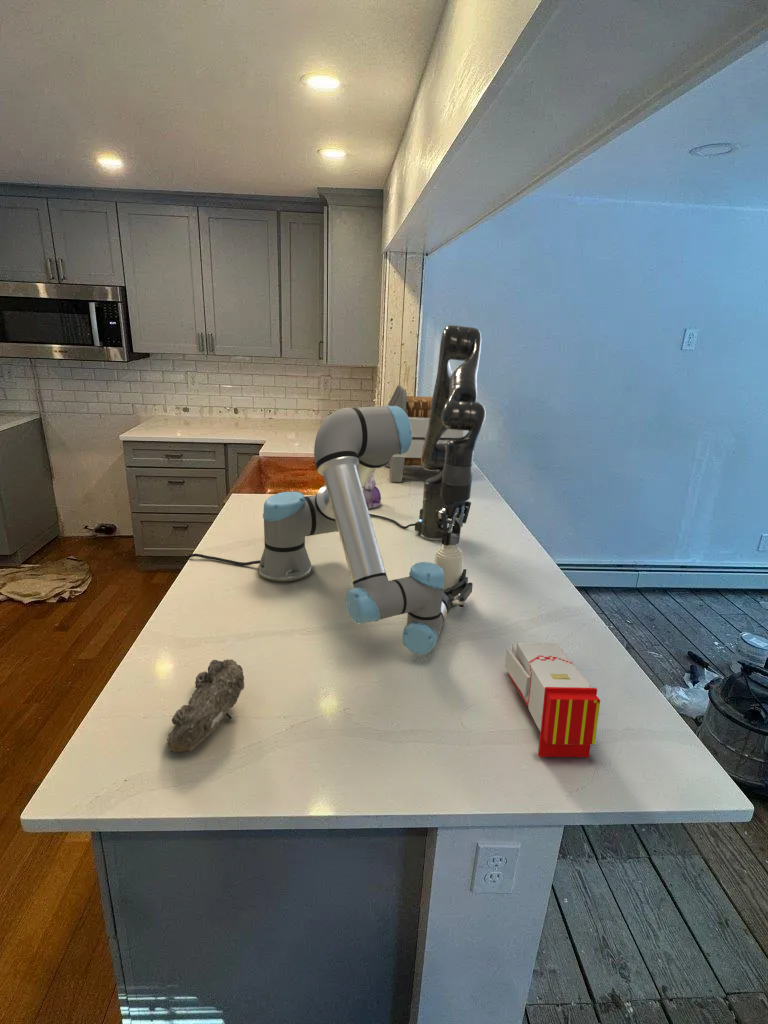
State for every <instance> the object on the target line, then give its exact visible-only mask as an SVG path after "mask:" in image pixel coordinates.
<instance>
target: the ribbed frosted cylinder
mask: <svg viewBox="0 0 768 1024" xmlns="http://www.w3.org/2000/svg"><path fill="white" fill-rule="evenodd" d="M463 561H464V554H463V551H462V550H461V549H460V547H459V546H458V544H457V545H448V546H446V545H443V544H441V545H440V546H439V547H438V548H436V550H435V551H434V561H433V563H434V564H436V565H438V566H439V567H441V568H442V569H443V572H444V589H443V590H445V589H447V588H448V587H449V588H451V587H452V586H454V585H456V584H457V583H459V581H460V577H461V574H462V572H463V570H462V569H463ZM458 595H460V594H458ZM458 595H457V596H455V597H454V599H456V598H457V597H458ZM455 605H457V604H453V605H452V606H451V607H453V606H455Z"/></svg>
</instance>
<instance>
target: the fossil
mask: <svg viewBox="0 0 768 1024" xmlns="http://www.w3.org/2000/svg"><path fill="white" fill-rule="evenodd" d="M243 670H244V669H243V667H242V665H240V664H237V662H236V661H235V660H234V659H232V658H231V659H227V658H226V659H224V660H223V661H222V660H217V659H212V660H211V661H210V663H209V665H208V666H207V671H201V672H199V673H198V674H197V675H196V676H195V680H194V684H195V685H194V687H195V689H194V690H193V693H192V694H191V697H190V698H189V700H188V704H184V705H182V706H181V707H180V709H177V710H176V711H175V713H174V715H173V716H172V718H171V723H172V724H173V727H172V730H171V731H170V732H168V734H167V738H166V741H167V742H166V745H167V749H168V750H169V751H173V752H174V753H176V754H178V753H182V752H188V751H189V752H192V751H193V750H195V748H196V747H197V746H199V744H200V743H201V742H203V741H204V740H205V739H206V738H207V737H208V736H209V735H210V734H211V733H212V732H214V730H215V729H217V727H218V726H219V724H220V722H221V721H222V720H223V719H224V718H225V716H226V717H227V719H229V720H233V717H232V715H230V714H229V710H230V709H231V708H234V706H235V704H236V703H237V702H238V699H239V697H240V695H241V693H242V691H243V690H245V689H244V688H245V675H244V671H243Z"/></svg>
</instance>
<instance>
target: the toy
mask: <svg viewBox="0 0 768 1024" xmlns="http://www.w3.org/2000/svg"><path fill="white" fill-rule="evenodd" d="M504 668H505V670H506V671H507V675H508V676H509V678H510V680H511V682H512V683H513V685H514V687H515V688H516V690H517V691H518V693H519V695H520V697H521V698H522V700H523V702H524V703H525V705H526V707H527V708H528V711H529V713H530V715H531V717H532V719H533V721H534V723H535V725H536V727H537V729H538V731H539V743H538V753H537V755H538V757H539V758H590V753H591V746H593V745H595V744H596V738H597V729H598V722H599V713H600V706H601V699H600V698H599V696H598V688H597V687H591V686H590V684H589V683H588V682H587V680H586V679H585V678H584V676H583V675H582V674H581V672H580V671H579V669H578V668H577V667H576V666H575V664H574V663H573V661H572V660H571V659H570V658H569V657H568V655H567V654H566V653H565V651H564V649H563V648H562V647H561V646H560V645H559V643H556V642H555V643H554V642H516V643H511V648H507V649H506V654H505V662H504Z"/></svg>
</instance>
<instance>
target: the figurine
mask: <svg viewBox="0 0 768 1024" xmlns="http://www.w3.org/2000/svg"><path fill="white" fill-rule="evenodd" d="M375 472H376V470H375V471H374V473H373V474H372V475H371V477H370V478H369V480H368V481H367V483H366V484H365V486H364V487H363V489H362V490H363V494H364V497H365V501H366V504H367V508H368V510H369V509H375V508H378V507H379V506H380V505H381V500H382V495H381V491H380V489H379V488H378V487H377V486H376V485H377V483H376V480H375V478H374V476H375Z"/></svg>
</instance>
